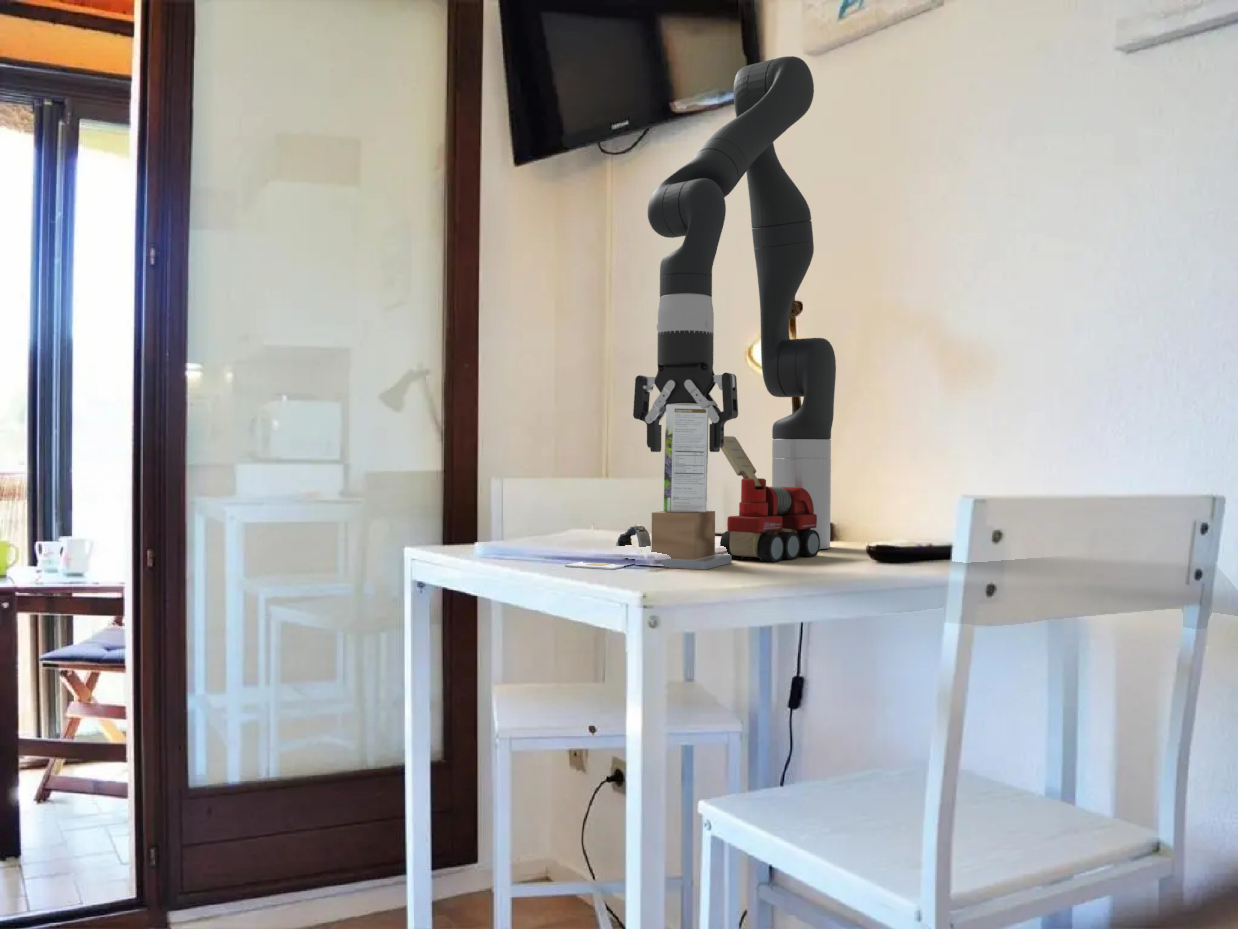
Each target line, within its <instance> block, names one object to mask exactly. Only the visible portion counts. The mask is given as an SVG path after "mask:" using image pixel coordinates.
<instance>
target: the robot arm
mask: <svg viewBox="0 0 1238 929" xmlns="http://www.w3.org/2000/svg"><path fill="white" fill-rule="evenodd" d="M814 92H815V85H814V78H813V74H812V72H811V70H810V67H809V66H808V64H807V63H806V62H805V61H804V60H803V59H802V58H801V57H798V56H795V55H793V56H792V55H791V56H782V57H776V58H772V59H770V60H769V59H768V60H765V61H760V62H757V63H756V62H755V63H752V64H749V65H745V66H743V67H741V68H740V69H739V70H738V71H737V73H736V75H735V76H734V81H733V103H734V104H733V105H734V111H735V118H734V119H732V120H731V121H729V122H728V123H726V124H725V125H723V126H722V127H721V128H719V129H718V130H717V131H715V132H714V133H713V134H711V136H710V137H709V138H708V139H707V140H706V141H705V143H704V144H703V145H702V146H701V148H699V150H698V151H697V153H695V155H694V157H692V160H690V161H689V162H688V163H686V164H685V165H683V166H682V167H680V168H678V170H676V171H675V172H674V173H672V174H671V175H669V176H668V177H667V178H666V179H664V180H663V181H662V182H661V183H660V184H659V185H658V186H657V187H655V190H654V191H653V192H652V194H651V196H650V198H649V202H648V205H647V218H648V222H649V225H650V226H651V228H652V230H653V231H654V232H655V233H656V234H658V235H659V236H660V237H662V238H663V237H664V238H670V239H671V238H673V239H674V238H680V237H684V238H683V241H682V244H681V246H680V247H679V248H677V249H676V250H674V251H672V252H670V253H668V254H666V255H664V256H663V257H662V259H661V261H660V265H659V266H660V267H659V303H658V310H657V322H656V323H657V324H656V331H657V356H656V357H657V373H656V375H655V376H646V375H637V376H635V379H634V381H635V382H634V397H633V408H632V409H633V411H632V412H633V413H632V416H633V418H634V419H635V420H639V421H642V422H644V423H645V424H646V445H647V448H649V449H650V450H649V451H650V453H661V452H662V424H660V422H661V421H662V419H663V418H664V417H665V416H666V405H667V404H677V403H691V404H701V405H699V406H701V408H702V409H705V408H708V420H710V422H711V423H709V425H708V451H709V452H710V453H719V452H720V450H721V448H723V445H724V436H725V424H726V423H727V422H729V421H731V420H734V419H737V418H738V416H739V405H738V404H739V403H738V383H737V375H735V374H734V373H730V372H724V373H723V374H715V372H714V339H715V338H714V337H715V335H714V324H715V323H714V321H715V318H714V306H713V297H712V296H713V267H714V262H715V259H716V255H717V250H718V246H719V244H720V239H721V237H722V232H723V229H724V228H723V227H724V225H725V224H724V223H725V220H726V214H727V213H726V212H727V208H726V200H725V198H726V197H727V196H728V195H730V193H731V192H733V190H734V189H735V187H736V186H737V185H738V183H739V182H740V181H741V179H742V178H743V176H744V175H745V174H746V179H747V180H746V181H747V189H748V198H749V207H750V208H749V209H750V221H751V224H750V225H751V234H752V243H753V251H754V260H755V267H756V274H757V276H756V277H757V284H758V295H759V296H758V297H759V307H760V309H759V312H760V316H759V317H760V355H761V356H760V359H761V360H760V361H761V372H762V378H763V382H764V385H765V388H766V390H767V392H768V393H769V394H770V395H771V396H773V397H775V398H801V397H803V400H802V404H801V405H800V407H799V408H797V409H796V410H795V411H794V412H793V413H790V415H787V416H785V417H783V418H780V419H778V420H776V421H775V422H774V423H773V425H772V430H771V433H772V443H771V444H772V445H771V446H772V449H771V450H772V452H771V453H772V454H771V457H772V458H771V459H772V460H771V461H772V462H771V464H772V465H771V467H772V468H771V470H772V471H771V487H801V488H803V489H805V490H806V491H807V492H808V493H809V494H810V496H811V499H812V502H813V507H814V513H813V514H816V515H817V527H816V528H811V530H815V531H817V533H818V534H819V538H820V548H819V550H825V549H830V547H831V496H832V495H831V494H832V493H831V490H832V489H831V485H832V482H831V481H832V480H831V476H832V475H831V474H832V473H831V472H832V457H831V456H832V440H831V439H832V428H833V422H834V410H835V409H834V408H835V406H834V405H835V391H836V390H835V389H836V376H837V373H836V372H837V369H836V368H837V366H836V365H837V364H836V362H837V361H836V355H835V350H834V348H833V345H832V344H831V342H830V341H829V340H828V339H826V338H823V337H807V338H805V337H804V338H791V339H790V315H791V308H792V305H793V302H794V299H795V297H796V295H797V292H798V290H799V289H800V286H801V285H802V283H803V280H804V278H805V277H806V274H807V272H808V270H809V267H810V266H811V262H812V259H813V257H814V250H815V247H814V245H815V244H814V235H813V234H814V233H813V222H812V215H811V209H810V206H809V204H808V201H807V200H806V198H805V197H804V195H803V194H802V192H801V191H800V189H799V188H798V187H797V185H796V184H795V182H794V181H793V179H792V178H791V177H790V176H789V174H788V172H786V170H785V168H784V167H783V166H782V164H781V162H780V160H779V158H778V156H777V153H776V149H775V144H774V142H775V141H776V140H777V139H778V138H779V137H780V136H781V135H782V134H784V133H785V132H786V131H787V130H788V129H790V128H791V127H792V126H793V125H794V124H796V123H797V122H798V121H800V119H802V118H803V117H804V116H805V115H806V113H807V112H808V111H809V110H810V108H811V106H812V102H813V99H814V95H815V94H814ZM716 384H717V387H718V389H719V390H720V391H722V392H721V393H722V408H723V409H722V411H721V410H720V408H719V407H718V406H719V405H718V404H717V402H716V401H715V399H714V398H713V396H712V395H711V394H710V393H711V392H712V391H713V389H714V387H715V386H716ZM654 387H656V388H657V390H658V391H659V395H658V396H657V397H656V399H655V401H654V402H653V404H652V406H651V409H650V396H651V395H650V394H651V392H653V390H654Z"/></svg>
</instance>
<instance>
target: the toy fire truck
mask: <svg viewBox="0 0 1238 929" xmlns="http://www.w3.org/2000/svg"><path fill="white" fill-rule="evenodd" d="M720 450H721V451H722V453H723V455H725V458H726V459H727V461H728V462H729V464H730V466H731V467H732V469H733V470H734V473H735V474H736V476H738V477H739V476H741V477H742V478H741V480H740V481H741V483H740V484H741V485H740V486H741V487H740V488H741V489H740V490H741V491H740V501H739V505H738V515H729V516H727V522H726V524H727V527H726V528H727V529H726V531H724V532H723V534H722V535H721V537H720V542H719V544H720V545H719V547H720V546H724V547H726V549H727V552H728V554H730V555H732V558H733V559H732V560H741V559H743V558H745V557H749V558H759V559H760V560H761V561H762V562H764V563H765V562H766V563H767V562H768V563H779V562H780V561H781V560H784V561H794V560H796V559H797V558H798V557H804V558H815V557H816V556H817V555H818V554H819V551H820V549H819V548H820V538H819V534H818V533H817V531H815V530H811V528H816V527H817V515H816V514H813V513H814V507H813V502H812V499H811V496H810V494H809V493H808V492H807V491H806V490H805V489H803V488H801V487H772V486H767V480H766V478H762V477H761V478H759V477H757V476H756V473H757V470H756V467H755V466H754V465H753V463H752V461H751V459H750V457H749V456H748V455H747V453H746V451H744V449H743V446H742V445H741V444H740V442H739V440H738V439H737V437H736V436H733V435H730V436H729V435H724V445H723V448H720Z"/></svg>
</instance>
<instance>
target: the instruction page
mask: <svg viewBox="0 0 1238 929" xmlns="http://www.w3.org/2000/svg"><path fill="white" fill-rule="evenodd" d="M624 566H625V565H615V564H607V563H583V561H579V562H574V563H568V564H564V568H565V567H567V568H568V567H569V568H582V569H584V568H585V569H598V570H599V569H600V570H601V569H602V570H617V569H621V568H625V567H624Z"/></svg>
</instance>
